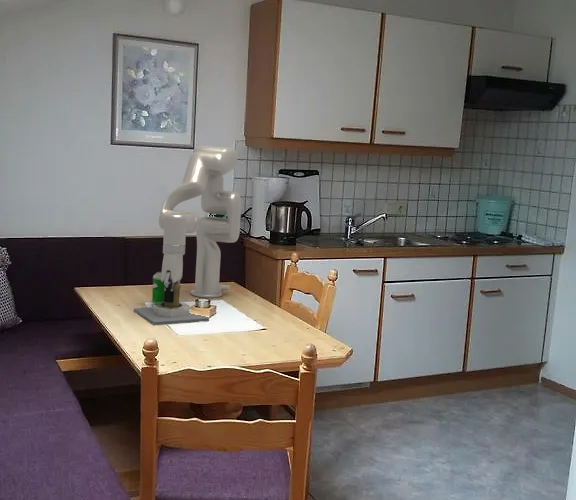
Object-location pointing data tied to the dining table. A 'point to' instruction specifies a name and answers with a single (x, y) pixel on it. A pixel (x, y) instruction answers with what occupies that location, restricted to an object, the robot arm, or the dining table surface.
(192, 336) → the dining table surface
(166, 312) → the steel collar
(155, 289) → the soda can
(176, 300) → the cork
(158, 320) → the slate board
